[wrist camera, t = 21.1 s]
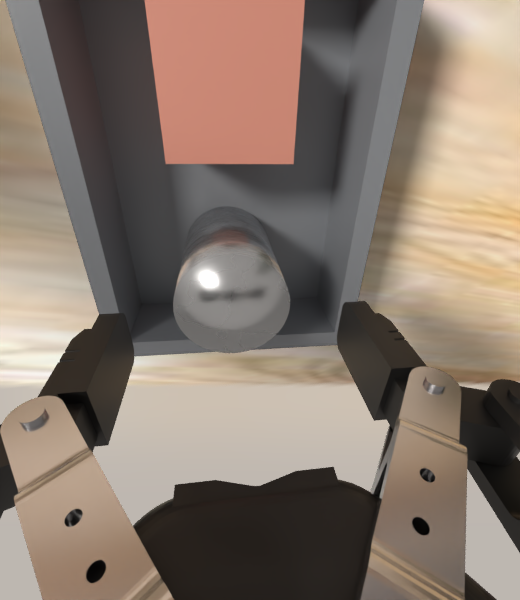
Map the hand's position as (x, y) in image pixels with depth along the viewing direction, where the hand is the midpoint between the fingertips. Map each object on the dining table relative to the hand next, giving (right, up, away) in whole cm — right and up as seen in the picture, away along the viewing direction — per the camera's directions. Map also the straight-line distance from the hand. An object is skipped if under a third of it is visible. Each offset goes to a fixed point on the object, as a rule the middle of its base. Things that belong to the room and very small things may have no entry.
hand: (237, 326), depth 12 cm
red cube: (-1, +11, +4) cm, 12 cm away
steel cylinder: (-1, +4, +8) cm, 9 cm away
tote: (-1, +8, +6) cm, 11 cm away
